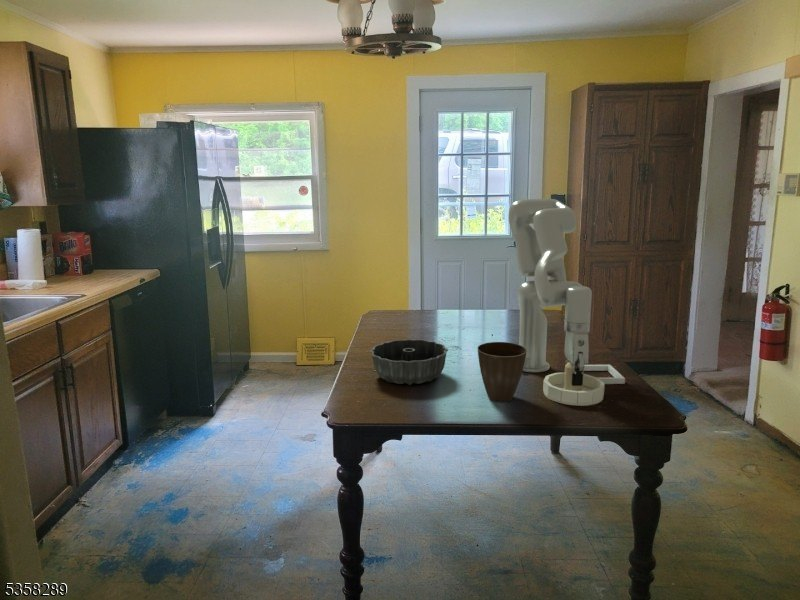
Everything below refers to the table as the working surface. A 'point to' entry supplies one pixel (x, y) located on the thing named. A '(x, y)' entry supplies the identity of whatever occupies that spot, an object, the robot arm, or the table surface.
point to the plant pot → (501, 368)
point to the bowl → (587, 396)
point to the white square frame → (609, 380)
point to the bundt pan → (409, 360)
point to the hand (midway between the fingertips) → (573, 380)
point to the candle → (570, 378)
